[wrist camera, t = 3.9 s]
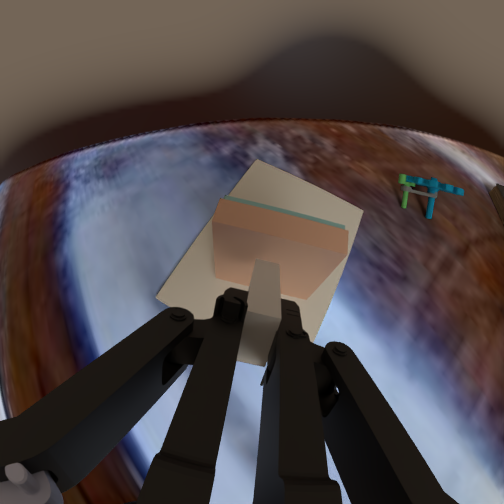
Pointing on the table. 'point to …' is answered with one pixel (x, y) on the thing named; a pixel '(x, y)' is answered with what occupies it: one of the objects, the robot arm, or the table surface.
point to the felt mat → (274, 194)
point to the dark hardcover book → (498, 199)
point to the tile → (275, 245)
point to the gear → (431, 193)
